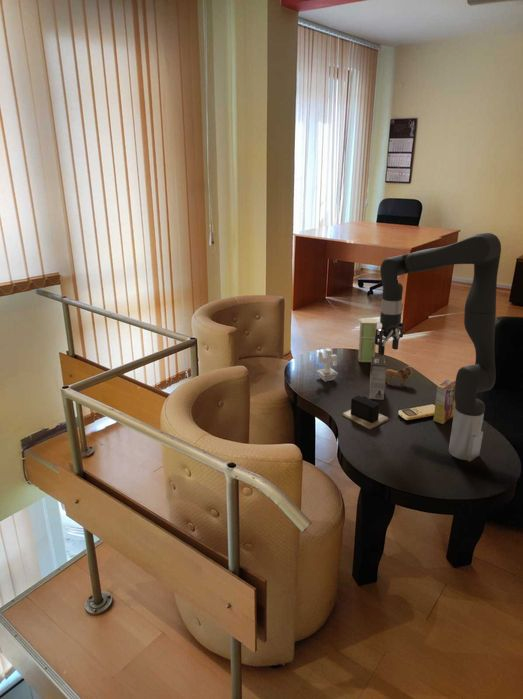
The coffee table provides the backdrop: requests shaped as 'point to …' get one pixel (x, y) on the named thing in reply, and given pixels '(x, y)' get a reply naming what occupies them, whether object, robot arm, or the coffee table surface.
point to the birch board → (364, 422)
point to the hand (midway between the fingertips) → (388, 351)
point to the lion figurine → (399, 374)
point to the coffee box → (377, 378)
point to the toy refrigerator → (367, 339)
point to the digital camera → (365, 409)
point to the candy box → (445, 401)
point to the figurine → (327, 365)
